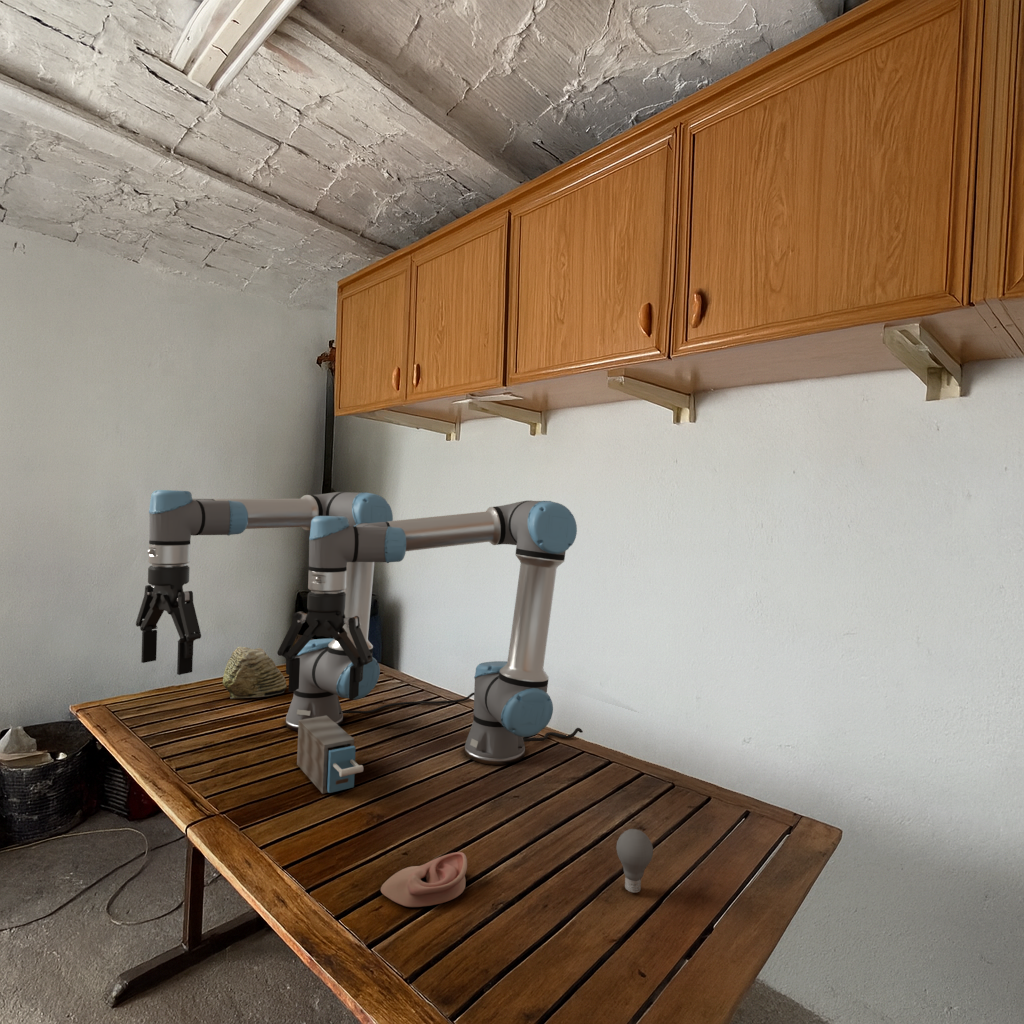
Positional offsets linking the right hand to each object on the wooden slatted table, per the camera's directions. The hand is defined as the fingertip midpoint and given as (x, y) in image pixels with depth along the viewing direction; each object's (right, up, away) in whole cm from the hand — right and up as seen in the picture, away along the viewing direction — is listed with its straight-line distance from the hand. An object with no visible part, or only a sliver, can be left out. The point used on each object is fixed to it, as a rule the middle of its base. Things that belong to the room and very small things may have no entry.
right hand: (323, 694), depth 130 cm
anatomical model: (+24, -24, -26) cm, 43 cm away
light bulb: (+59, -26, -25) cm, 69 cm away
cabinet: (-4, -22, +14) cm, 27 cm away
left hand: (-33, +5, +1) cm, 33 cm away
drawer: (-1, -22, +9) cm, 24 cm away
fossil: (-42, -20, +68) cm, 82 cm away
